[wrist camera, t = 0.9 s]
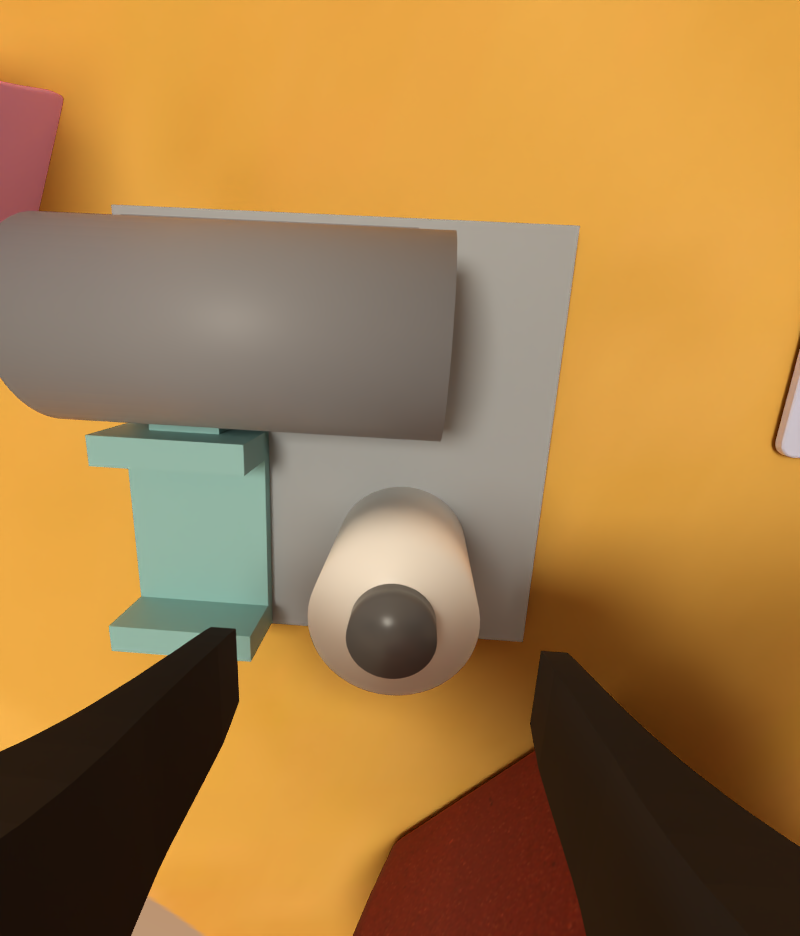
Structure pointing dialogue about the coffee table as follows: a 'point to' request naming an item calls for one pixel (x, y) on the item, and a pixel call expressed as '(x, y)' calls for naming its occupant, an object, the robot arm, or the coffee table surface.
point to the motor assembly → (292, 391)
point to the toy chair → (25, 145)
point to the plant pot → (480, 869)
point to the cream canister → (396, 595)
